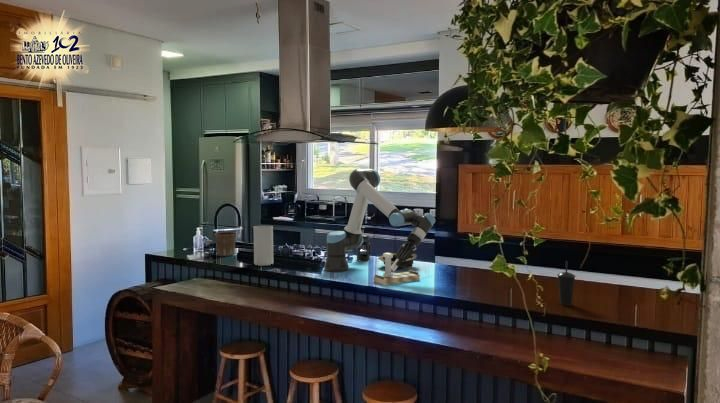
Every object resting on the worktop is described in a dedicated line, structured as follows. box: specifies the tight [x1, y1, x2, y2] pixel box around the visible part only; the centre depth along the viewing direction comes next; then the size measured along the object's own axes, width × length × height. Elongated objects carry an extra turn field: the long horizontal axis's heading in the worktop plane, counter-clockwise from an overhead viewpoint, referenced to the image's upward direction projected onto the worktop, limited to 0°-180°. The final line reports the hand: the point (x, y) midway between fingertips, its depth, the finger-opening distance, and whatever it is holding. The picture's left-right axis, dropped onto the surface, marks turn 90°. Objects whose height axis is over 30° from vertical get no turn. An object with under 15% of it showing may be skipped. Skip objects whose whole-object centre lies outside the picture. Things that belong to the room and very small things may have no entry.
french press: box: [356, 226, 371, 262], centre depth 348 cm, size 12×9×23 cm
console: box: [373, 269, 421, 286], centre depth 282 cm, size 24×10×4 cm, turn 121°
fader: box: [382, 252, 394, 277], centre depth 278 cm, size 3×5×13 cm, turn 32°
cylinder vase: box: [252, 225, 274, 267], centre depth 335 cm, size 12×12×25 cm
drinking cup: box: [557, 260, 576, 307], centre depth 230 cm, size 8×8×20 cm
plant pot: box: [213, 231, 238, 257], centre depth 372 cm, size 16×16×16 cm
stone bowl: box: [377, 250, 418, 269], centre depth 322 cm, size 25×25×9 cm
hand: (392, 269), depth 279 cm, fingers closed
